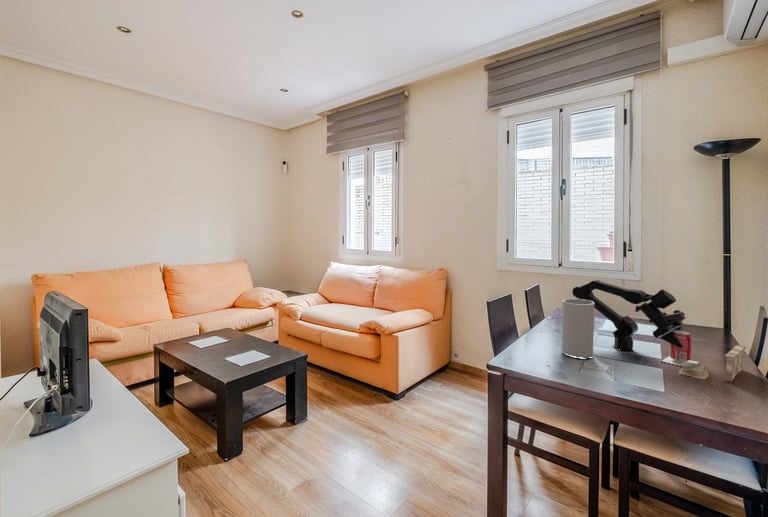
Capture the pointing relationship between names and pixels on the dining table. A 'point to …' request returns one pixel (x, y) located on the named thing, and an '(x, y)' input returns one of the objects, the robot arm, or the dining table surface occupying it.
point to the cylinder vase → (578, 327)
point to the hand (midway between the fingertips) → (684, 345)
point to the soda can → (685, 351)
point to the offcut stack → (693, 370)
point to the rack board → (734, 362)
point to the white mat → (671, 361)
